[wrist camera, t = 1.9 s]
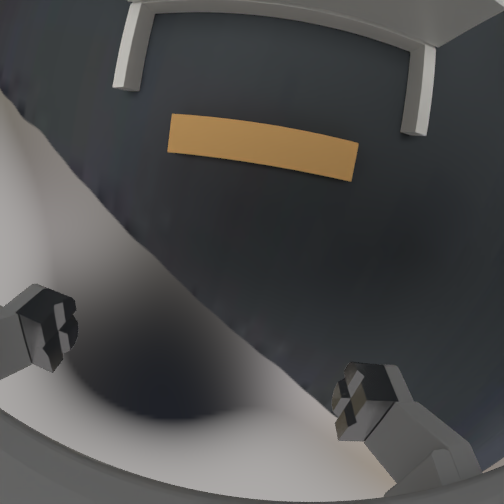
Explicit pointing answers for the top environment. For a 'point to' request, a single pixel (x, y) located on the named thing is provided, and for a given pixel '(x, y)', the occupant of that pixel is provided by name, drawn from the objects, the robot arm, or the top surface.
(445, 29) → the panel
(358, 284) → the top surface
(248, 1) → the duct
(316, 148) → the wooden block
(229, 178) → the top surface
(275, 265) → the top surface
